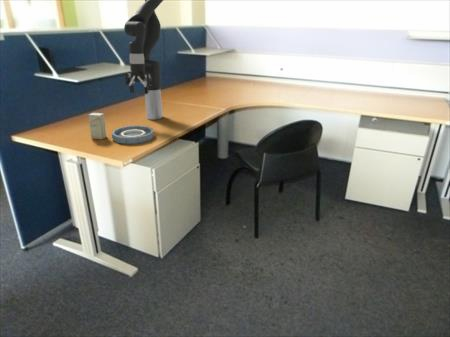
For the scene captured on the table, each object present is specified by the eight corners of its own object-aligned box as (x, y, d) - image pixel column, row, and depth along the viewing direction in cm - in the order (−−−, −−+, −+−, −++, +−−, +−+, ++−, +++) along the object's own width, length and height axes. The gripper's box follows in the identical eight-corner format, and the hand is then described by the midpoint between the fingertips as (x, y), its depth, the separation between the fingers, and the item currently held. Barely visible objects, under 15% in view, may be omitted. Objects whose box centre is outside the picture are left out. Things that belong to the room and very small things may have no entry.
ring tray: (127, 129, 186) (126, 123, 184) (160, 133, 180) (160, 127, 179) (104, 141, 168) (103, 135, 167) (140, 146, 163) (139, 139, 161)
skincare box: (91, 138, 172) (87, 114, 167) (95, 135, 176) (92, 112, 171) (103, 139, 171) (99, 115, 166) (107, 136, 175) (104, 113, 170)
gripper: (152, 62, 184) (154, 93, 190) (129, 61, 187) (131, 91, 193) (145, 63, 177) (147, 95, 183) (121, 62, 181) (124, 93, 187)
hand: (139, 93), depth 188 cm, fingers open, 8 cm apart
